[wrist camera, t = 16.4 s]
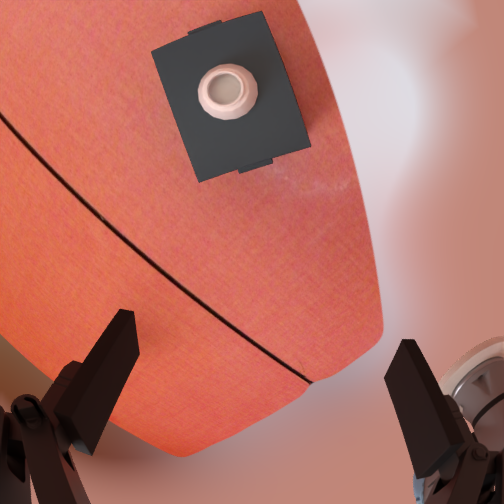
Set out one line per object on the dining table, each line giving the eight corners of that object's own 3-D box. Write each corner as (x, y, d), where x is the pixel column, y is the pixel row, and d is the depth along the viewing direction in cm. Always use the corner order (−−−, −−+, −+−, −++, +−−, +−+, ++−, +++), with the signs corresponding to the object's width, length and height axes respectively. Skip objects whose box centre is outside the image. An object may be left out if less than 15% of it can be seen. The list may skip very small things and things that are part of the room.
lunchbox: (303, 146, 32) (313, 152, 26) (212, 175, 34) (200, 187, 28) (261, 27, 27) (260, 6, 21) (170, 59, 29) (149, 47, 22)
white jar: (188, 97, 24) (232, 130, 25) (179, 94, 22) (228, 131, 23) (225, 55, 23) (269, 88, 24) (220, 47, 20) (270, 84, 21)
